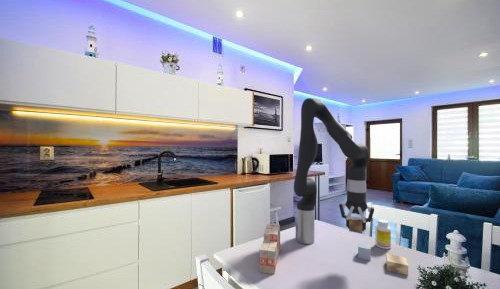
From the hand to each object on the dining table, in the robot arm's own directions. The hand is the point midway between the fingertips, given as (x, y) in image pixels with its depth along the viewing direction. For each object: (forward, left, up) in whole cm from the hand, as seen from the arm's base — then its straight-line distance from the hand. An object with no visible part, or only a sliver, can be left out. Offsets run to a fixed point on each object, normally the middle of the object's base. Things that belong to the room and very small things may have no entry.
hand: (355, 229), depth 93 cm
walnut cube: (0, 0, 0) cm, 0 cm away
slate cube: (+3, +9, -15) cm, 18 cm away
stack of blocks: (-33, -15, -15) cm, 40 cm away
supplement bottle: (+11, +25, -15) cm, 31 cm away
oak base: (+15, +5, -15) cm, 22 cm away
